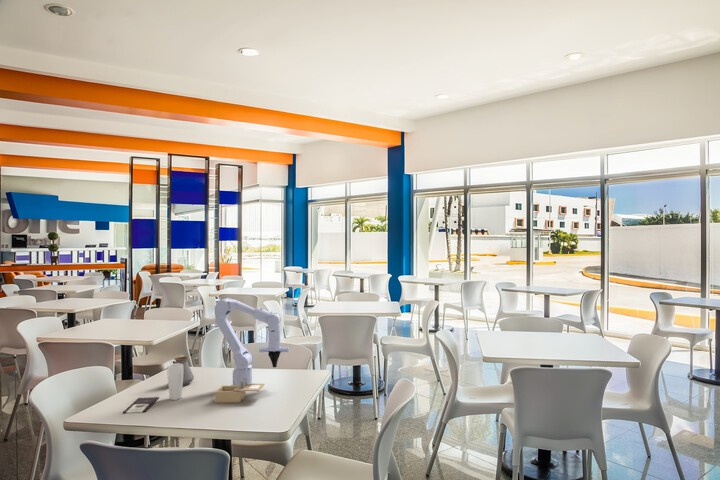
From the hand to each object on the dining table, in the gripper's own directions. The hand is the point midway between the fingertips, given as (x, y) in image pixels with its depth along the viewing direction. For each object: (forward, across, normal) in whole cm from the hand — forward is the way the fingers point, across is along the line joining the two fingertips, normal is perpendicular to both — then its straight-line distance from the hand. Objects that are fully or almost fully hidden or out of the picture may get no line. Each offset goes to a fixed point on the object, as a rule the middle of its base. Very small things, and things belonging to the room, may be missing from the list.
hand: (274, 366), depth 227 cm
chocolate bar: (+10, -52, -28) cm, 59 cm away
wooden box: (+9, -15, -19) cm, 26 cm away
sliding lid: (+4, -7, -19) cm, 21 cm away
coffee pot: (+10, -47, -1) cm, 48 cm away
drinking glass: (+10, -41, -18) cm, 46 cm away
